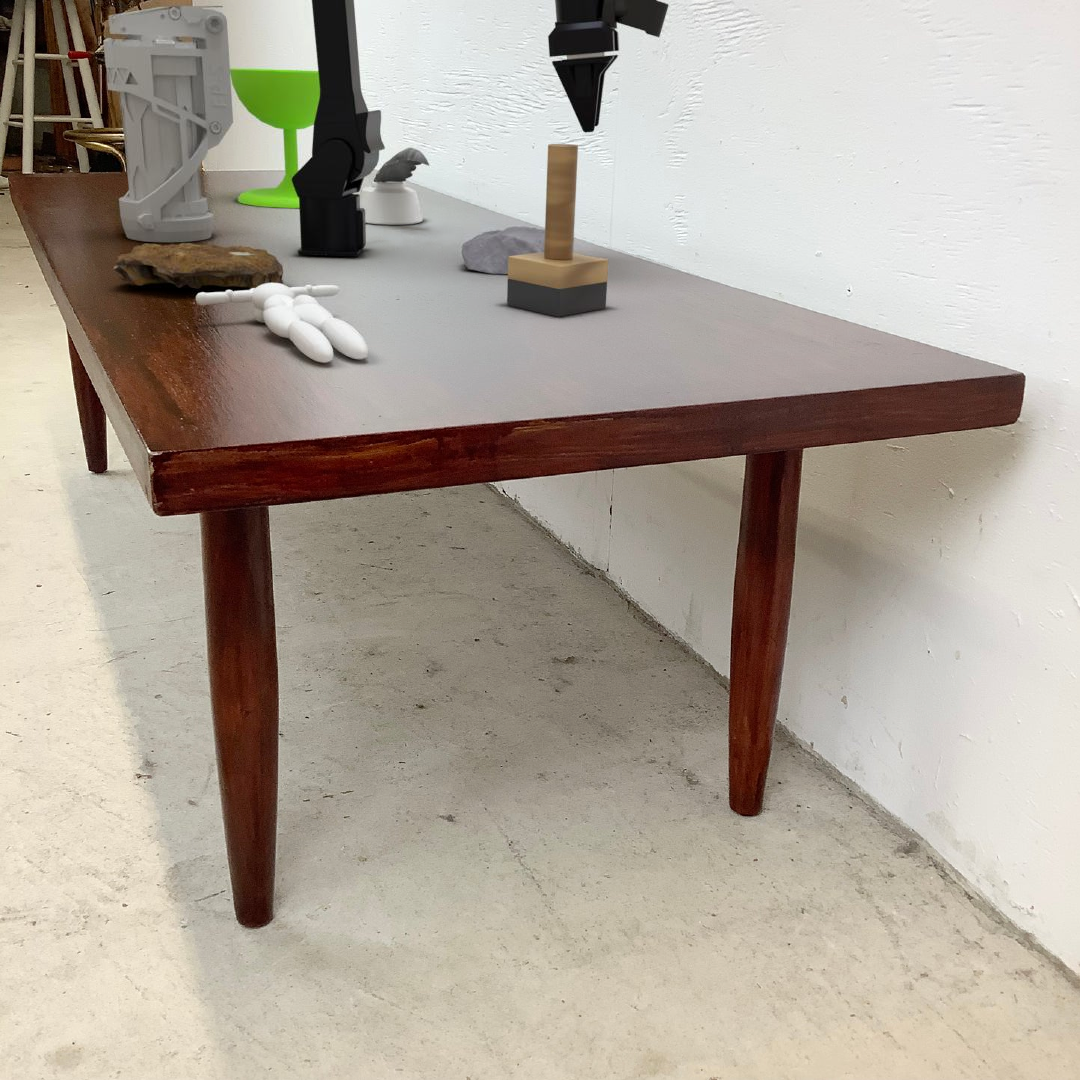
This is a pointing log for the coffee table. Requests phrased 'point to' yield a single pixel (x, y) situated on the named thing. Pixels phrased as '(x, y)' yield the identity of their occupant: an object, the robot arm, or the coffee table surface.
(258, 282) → the decorative rock
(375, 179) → the inkwell
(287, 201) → the wineglass
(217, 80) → the grey mechanical model
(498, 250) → the stone block
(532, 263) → the rubber stamp
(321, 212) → the robot arm
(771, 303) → the coffee table surface
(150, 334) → the coffee table surface
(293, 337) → the decorative figure
